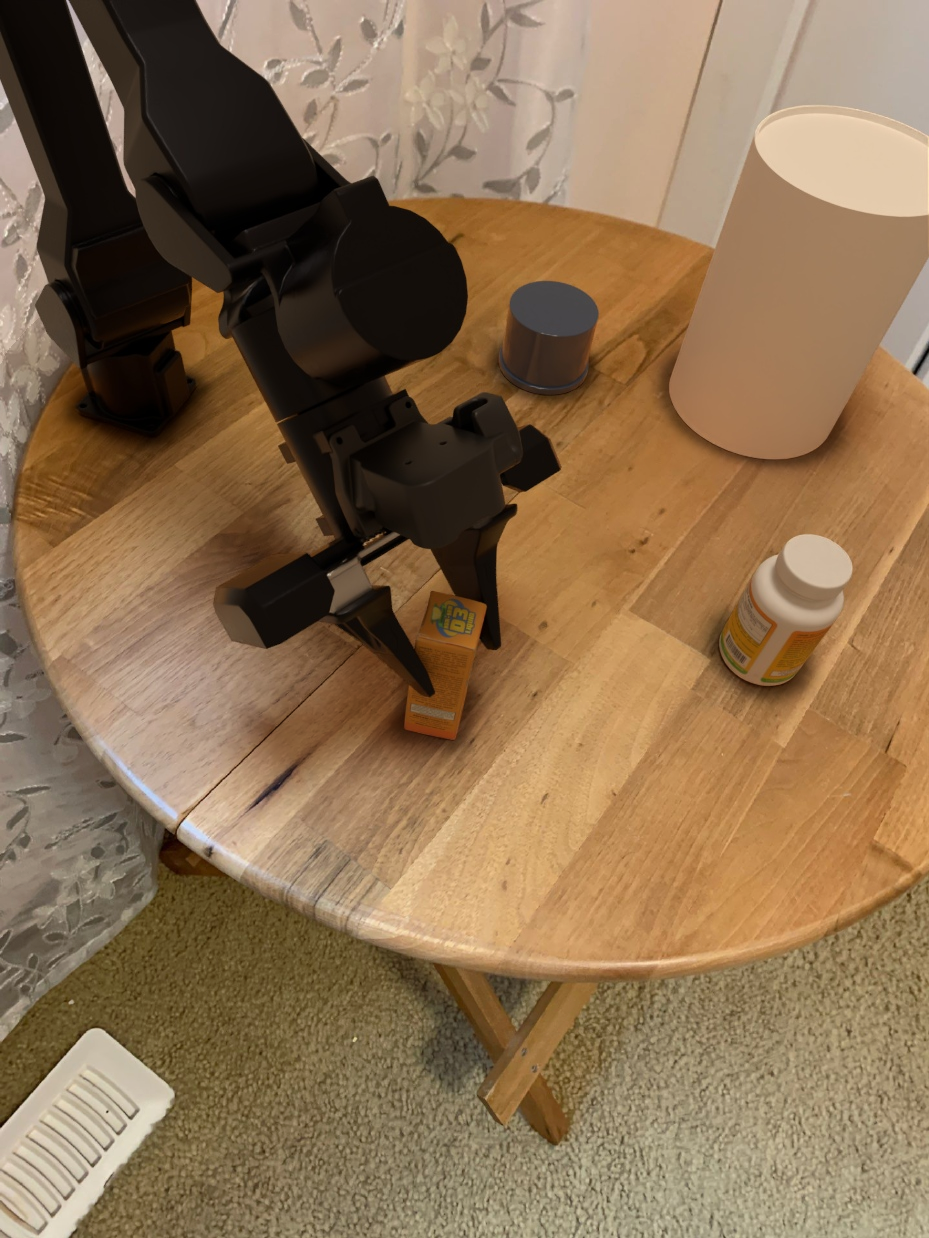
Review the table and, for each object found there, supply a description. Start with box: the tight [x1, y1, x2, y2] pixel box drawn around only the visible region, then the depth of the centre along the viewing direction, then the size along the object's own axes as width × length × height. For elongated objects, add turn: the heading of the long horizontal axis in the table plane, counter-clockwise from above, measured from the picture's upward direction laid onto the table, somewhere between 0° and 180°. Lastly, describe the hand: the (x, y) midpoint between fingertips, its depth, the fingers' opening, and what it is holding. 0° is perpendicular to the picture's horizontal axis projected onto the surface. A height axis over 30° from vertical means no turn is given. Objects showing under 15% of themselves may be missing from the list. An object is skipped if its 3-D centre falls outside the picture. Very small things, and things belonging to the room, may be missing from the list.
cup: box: [498, 280, 600, 396], centre depth 71 cm, size 8×7×6 cm
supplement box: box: [403, 590, 487, 741], centre depth 49 cm, size 3×3×10 cm
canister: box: [668, 104, 929, 460], centre depth 65 cm, size 14×14×20 cm
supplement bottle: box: [718, 533, 854, 687], centre depth 54 cm, size 5×5×10 cm
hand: (462, 671), depth 48 cm, fingers closed on supplement box, 4 cm apart
